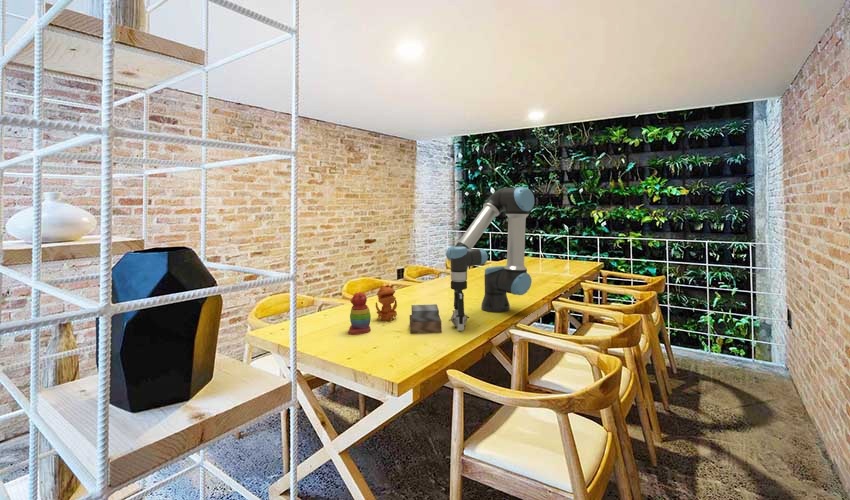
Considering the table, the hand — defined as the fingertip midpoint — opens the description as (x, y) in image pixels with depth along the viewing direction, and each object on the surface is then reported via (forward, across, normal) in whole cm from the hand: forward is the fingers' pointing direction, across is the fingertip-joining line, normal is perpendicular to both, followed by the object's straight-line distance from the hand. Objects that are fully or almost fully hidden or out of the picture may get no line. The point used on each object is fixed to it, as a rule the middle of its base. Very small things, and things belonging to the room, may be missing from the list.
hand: (458, 326), depth 203 cm
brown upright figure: (0, -17, -34) cm, 38 cm away
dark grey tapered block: (0, +1, -16) cm, 16 cm away
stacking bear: (+1, +1, -46) cm, 46 cm away
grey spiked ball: (0, 0, 0) cm, 0 cm away
